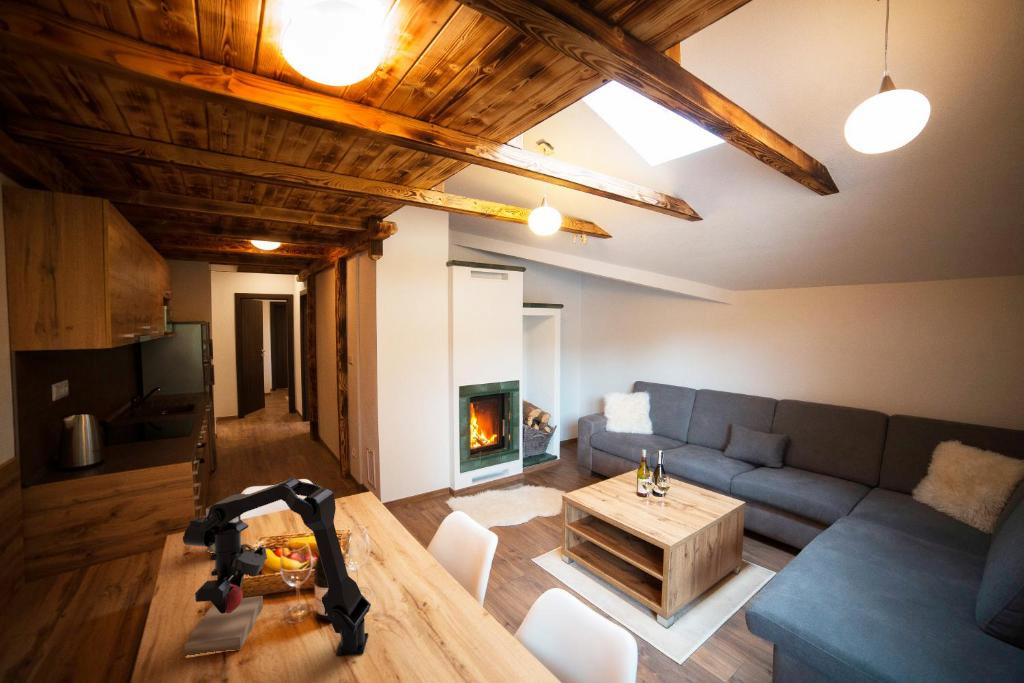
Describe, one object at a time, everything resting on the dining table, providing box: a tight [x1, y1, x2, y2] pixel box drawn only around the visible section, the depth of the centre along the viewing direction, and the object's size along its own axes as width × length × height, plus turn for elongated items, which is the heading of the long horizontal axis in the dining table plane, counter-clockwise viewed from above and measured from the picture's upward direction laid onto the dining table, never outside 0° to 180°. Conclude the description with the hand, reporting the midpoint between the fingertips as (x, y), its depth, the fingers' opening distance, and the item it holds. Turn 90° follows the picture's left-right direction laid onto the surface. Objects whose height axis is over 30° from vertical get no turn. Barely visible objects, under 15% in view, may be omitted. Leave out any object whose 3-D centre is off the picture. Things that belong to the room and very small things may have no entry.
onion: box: [225, 584, 244, 614], centre depth 110 cm, size 6×6×8 cm
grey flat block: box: [184, 595, 264, 657], centre depth 111 cm, size 16×12×4 cm
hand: (229, 605), depth 110 cm, fingers closed on onion, 6 cm apart
